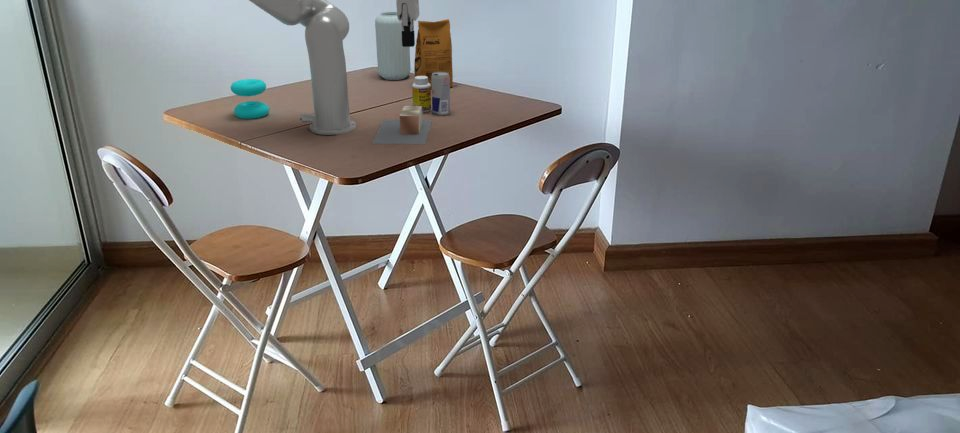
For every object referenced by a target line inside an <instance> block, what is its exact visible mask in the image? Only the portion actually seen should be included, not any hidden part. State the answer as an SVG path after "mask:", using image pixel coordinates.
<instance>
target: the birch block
mask: <svg viewBox="0 0 960 433" xmlns="http://www.w3.org/2000/svg"><path fill="white" fill-rule="evenodd" d="M399 120H400V134H419V132H420V129H421V126H422V120H423V113H422V106H413V105H404V106H403V108H402V110H401V112H400V114H399Z"/></svg>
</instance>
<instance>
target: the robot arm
mask: <svg viewBox="0 0 960 433" xmlns="http://www.w3.org/2000/svg"><path fill="white" fill-rule="evenodd" d="M248 1H249V2H251V3H252V4H253V5H254V6H256V7H258V8H259V9H260V10H262V11H264V12H265V13H266V14H268V15H270V16H271V17H273V18H275V19H276V20H277V21H279V22H280V23H282V24H283V25H286V26H296V25H301V26H303V27H305V30H304V39H305V44H306V50H307V53H308V62H309V70H310V78H311V80H310V81H311V88H312V99H313V111H314V112H311V113H310V114H308V113H300V114H299V120H300V121H302V123H310V128H309V129H310V131H311V132H312V133H314V134H317V135H321V136H322V135H324V136H328V135H329V136H334V135H335V136H336V135H341V134H346V133H349V132H352V131H354V130H356V128H357V124H356V122H355V121H354V120H352V119H351V114H350V113H351V112H350V102H349V101H350V98H349V91H348V77H347V76H348V74H347V65H346V64H347V62H346V55H345V51H344V50H345V49H344V40H345V38H346V37H347V36H348V34H349V31H350V23H349V22H350V21H349V19H348V17H347V15H346V14H345V13H344V12H343V10H341V9H339V7H337V6H335V5H334V4H332V3H331V2H329V1H328V0H248ZM395 2H396V12H397V17H398V20H400V21H401V23H402V46H403V47H410V48H411V47H412V48H414V46H416V39H415V38H416V37H415V30H414V28H415V25H414V21H415V22H416V21H418V19H419V17H420V2H419V0H396V1H395Z"/></svg>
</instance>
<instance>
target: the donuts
mask: <svg viewBox="0 0 960 433" xmlns="http://www.w3.org/2000/svg"><path fill="white" fill-rule="evenodd" d="M230 90H231V92H232V93H233V94H234V95H236V96H239V97H255V96H259V95H261V94H263V93H264V92H265V91H266V90H267V84H266V82H265V81H264V80H262V79H257V78H246V79H245V78H244V79H240V80H236V81H234V82H232V84H230ZM269 108H270V107H269V105H267V104H266V103H265V102H262V101H257V100H254V101H253V100H248V101H244V102H240V103H239V104H237V105H236V106H235V107H234V109H233V113H234V115H235V116H236V117H237V118H239V119H243V120H244V119H246V120H253V119H260V118H263V117H266V116H267V115H268V113H269V111H270V109H269Z"/></svg>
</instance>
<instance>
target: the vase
mask: <svg viewBox="0 0 960 433" xmlns="http://www.w3.org/2000/svg"><path fill="white" fill-rule="evenodd" d="M374 26H375V27H374V28H375V39H376V40H375V43H376V44H375V45H376V59H377V60H376V61H377V73H378V74H379V76H381V78H383V79H384V80H388V81H400V80H403V79H406V78H407V77H408V76H409V75H410V73H411V47H403V46H402V23H401V21H400V20H398V17H397V11H384V12H380V14H378V15H377V16H376V18H375V20H374Z"/></svg>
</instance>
